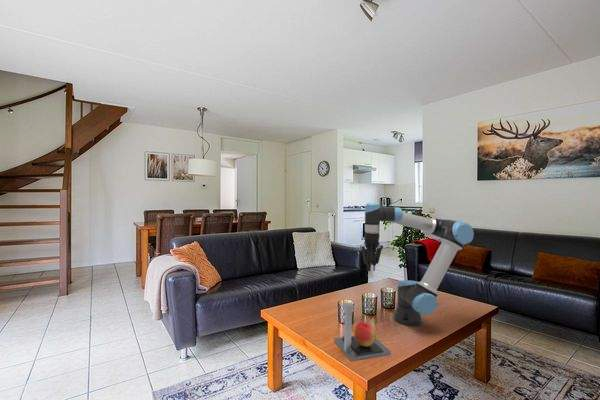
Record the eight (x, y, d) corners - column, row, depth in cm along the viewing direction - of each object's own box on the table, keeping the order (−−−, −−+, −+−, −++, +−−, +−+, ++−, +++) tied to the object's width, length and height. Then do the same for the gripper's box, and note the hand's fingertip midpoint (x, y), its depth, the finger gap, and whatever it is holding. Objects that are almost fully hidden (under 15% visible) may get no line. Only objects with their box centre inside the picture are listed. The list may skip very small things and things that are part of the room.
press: (369, 336, 152) (371, 292, 152) (390, 354, 135) (392, 305, 135) (333, 341, 146) (334, 296, 146) (349, 361, 129) (351, 309, 128)
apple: (358, 351, 132) (359, 329, 132) (351, 341, 142) (351, 320, 141) (379, 349, 134) (379, 327, 134) (370, 339, 143) (370, 319, 143)
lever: (350, 336, 147) (350, 315, 147) (353, 339, 144) (353, 317, 144) (342, 337, 146) (343, 316, 146) (345, 340, 143) (346, 318, 143)
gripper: (378, 231, 161) (377, 274, 162) (357, 231, 157) (356, 275, 158) (386, 233, 154) (385, 278, 154) (364, 233, 150) (363, 279, 151)
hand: (370, 277), depth 156 cm, fingers closed
